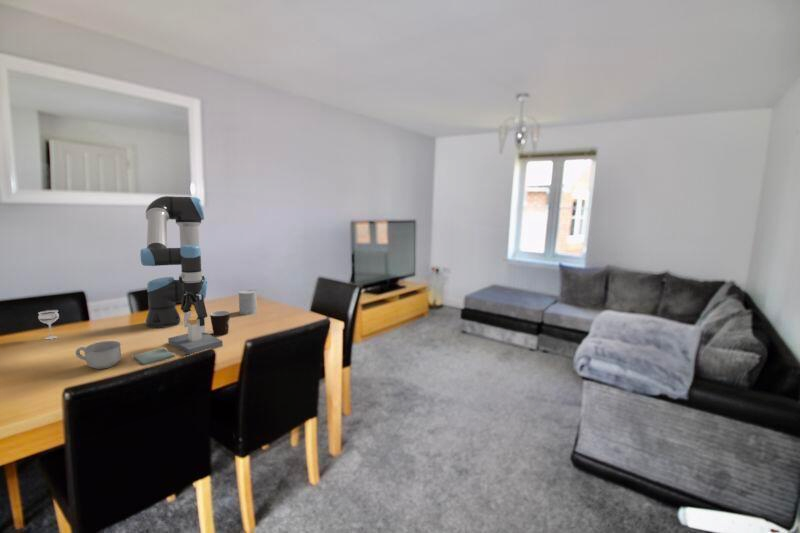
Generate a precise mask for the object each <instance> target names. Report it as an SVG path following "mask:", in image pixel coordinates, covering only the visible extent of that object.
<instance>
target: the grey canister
mask: <svg viewBox="0 0 800 533" xmlns="http://www.w3.org/2000/svg"><path fill="white" fill-rule="evenodd" d="M257 292H258V291H257V290H255V289H254V290H253V289H243V290H240V291H238V304H239V306H238V307H239V308H238V309H239V314H240V315H244V316H249V315H255V314H257V313H258V304H257V303H258V301H257Z"/></svg>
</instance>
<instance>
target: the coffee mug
mask: <svg viewBox="0 0 800 533" xmlns="http://www.w3.org/2000/svg"><path fill="white" fill-rule="evenodd" d="M230 315H231V313H230V311H228V310H218V311H212V312H211V313H210V314H209V317H210V322H211V328H212V334H213V336H217V337H220V336H221V337H222V336H225V335H228V334H229V327H230Z"/></svg>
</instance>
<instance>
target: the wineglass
mask: <svg viewBox="0 0 800 533" xmlns="http://www.w3.org/2000/svg"><path fill="white" fill-rule="evenodd" d="M58 312H59V310H58V309H47V310H42V311H39V312H38V313H37V314H38V317H37V319H38V320H39V321H40V322H41V323H43V324H46V325H48V330H49V336H47V337H44V338H45V339H51V340H54V339H53V338H56V339H58V338H57V336H58V335H53V334H52V324H53V323H55V322H56V321H57V320H58V319H60V314H59V313H58Z"/></svg>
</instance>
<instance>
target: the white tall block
mask: <svg viewBox="0 0 800 533" xmlns="http://www.w3.org/2000/svg"><path fill="white" fill-rule="evenodd" d="M197 318H198V316H194V317H193V316H191V318H187V324H188V327H187V334H188V340H189V341H191V342H194V341H198V340H202V333H200V334H198V325H197Z"/></svg>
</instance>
